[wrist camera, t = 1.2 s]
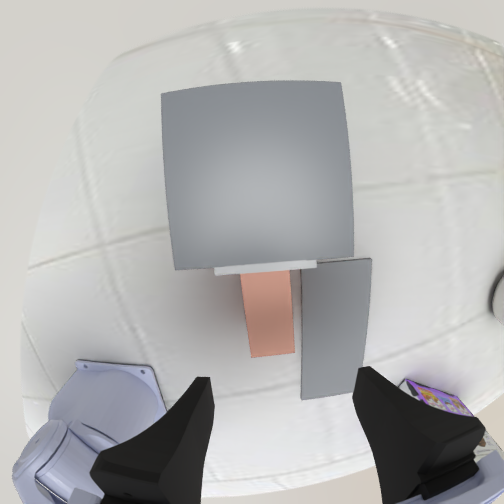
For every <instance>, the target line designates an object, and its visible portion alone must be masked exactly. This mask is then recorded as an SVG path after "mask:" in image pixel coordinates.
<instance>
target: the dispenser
mask: <svg viewBox="0 0 504 504" xmlns="http://www.w3.org/2000/svg"><path fill="white" fill-rule="evenodd" d="M161 115H162V142H163V160H164V175H165V187H166V199H167V209H168V219H169V228H170V236H171V244H172V252H173V259H174V266H175V270H186V269H201V268H214V273H215V275H230V274H244V273H258V272H271V271H284V270H296V269H308V268H317V260H320V259H332V258H344V257H354V217H353V191H352V174H351V161H350V149H349V139H348V130H347V121H346V113H345V106H344V99H343V92H342V86H341V82H327V81H257V82H241V83H230V84H220V85H211V86H203V87H196V88H190V89H184V90H178V91H172V92H167V93H162V94H161Z"/></svg>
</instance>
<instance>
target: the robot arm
mask: <svg viewBox="0 0 504 504" xmlns="http://www.w3.org/2000/svg"><path fill="white" fill-rule="evenodd" d="M75 365H76V367H77V371H76V372H75V373H74V374H73V375H72V376H71V378H70V379H69V380H68V381H67V382H66V384H65V385H64V386H63V387H62V388H61V390H60V391H59V392H58V393H57V395H56V396H55V397H54V398H53V400H52V402H51V404H50V408H49V414H48V419H49V421H48V422H47V423H46V424H45V425H43V426H42V427H41V428H40V429H39V430H38V431H37V432H36V434H35V435H34V436H33V437H32V438H31V440H30V441H29V442H28V444H27V445H26V447H25V448H24V450H23V452H22V454H21V456H20V458H19V459H18V460H17V461H16V463H15V464H14V466H13V475H12V479H13V483H14V486H15V488H16V490H17V492H18V494H19V496H20V498H21V500H22V502H23V504H201V503H200V502H201V489H202V477H203V468H204V461H205V456H206V452H207V448H208V443H209V439H210V435H211V431H212V426H213V420H214V409H215V405H214V399H213V394H212V388H211V381H210V377H197V378H195V380H194V381H193V383H192V384H191V385H190V387H189V388H188V389H187V390H186V392H185V393H184V394H183V395H182V396H181V398H180V399H179V400H178V401H177V402H176V403H175V404H174V405H173V406H172V407H171V408H170V409H169V410H168V411H166V408H165V405H164V402H163V399H162V396H161V393H160V390H159V387H158V384H157V381H156V378H155V375H154V372H153V369H152V368H151V367H148V366H134V365H120V364H109V363H99V362H90V361H82V360H77V361H76V362H75ZM86 365H87V366H86ZM142 370H144V371H145V372H143V371H142ZM352 399H353V403H354V407H355V410H356V414H357V416H358V418H359V421H360V423H361V426H362V428H363V430H364V432H365V435H366V437H367V439H368V442H369V444H370V447H371V450H372V452H373V456H374V460H375V464H376V468H377V473H378V477H379V482H380V488H381V494H382V503H383V504H491V503H492V502H494V501H495V500H496V499H497V498H498V497H499V496H500V495H501V494H502V493H503V492H504V460H503V459H502V457H501V456H500V454H499V453H498V452H497V450H494V451H493V452H491V453H489V454H488V455H486V456H485V457H483V458H481V459H480V460H479V461H478V462H477V463H476V462H475V461H474V459H475V457H476V455H475V453H474V452H473V451H474V450H475V448H476V447H477V446H478V444H479V443H480V441H481V440H482V438H483V436H484V434H485V431H486V429H485V427H484V425H483V424H482V423H481V422H480V420H479V419H478V418H477V417H472V416H465V415H459V414H455V413H451V412H447V411H444V410H441V409H438V408H435V407H433V406H430V405H428V404H426V403H424V402H422V401H420V400H418V399H416V398H414V397H412V396H411V395H409V394H407V393H406V392H404V391H403V390H401V389H400V388H398V387H397V386H395V385H394V384H393V383H391V382H390V381H388V380H387V379H386V378H385V377H383V376H382V375H381V374H379V373H378V372H377V371H375V370H374V369H373V368H371V367H370V366H367V367H361V368H358V372H357V377H356V382H355V387H354V392H353V396H352ZM152 423H154V424H153V425H152ZM36 479H37V480H38V481H39V482H40V483H41V484H43V485H44V486H45V487H47V488H48V489H49V490H50V491H52V492H53V493H54V494H56V495H57V496H59V497H60V498H62V499H63V500H64V501H66V502H67V503H65V502H64V501H62V500H61V499H60V498H58V497H57V496H55V495H54V494H53V493H51V492H50V491H49V490H47V489H46V488H45V487H43V486H42V485H41V484H40V483H38V482H37V481H36Z"/></svg>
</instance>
